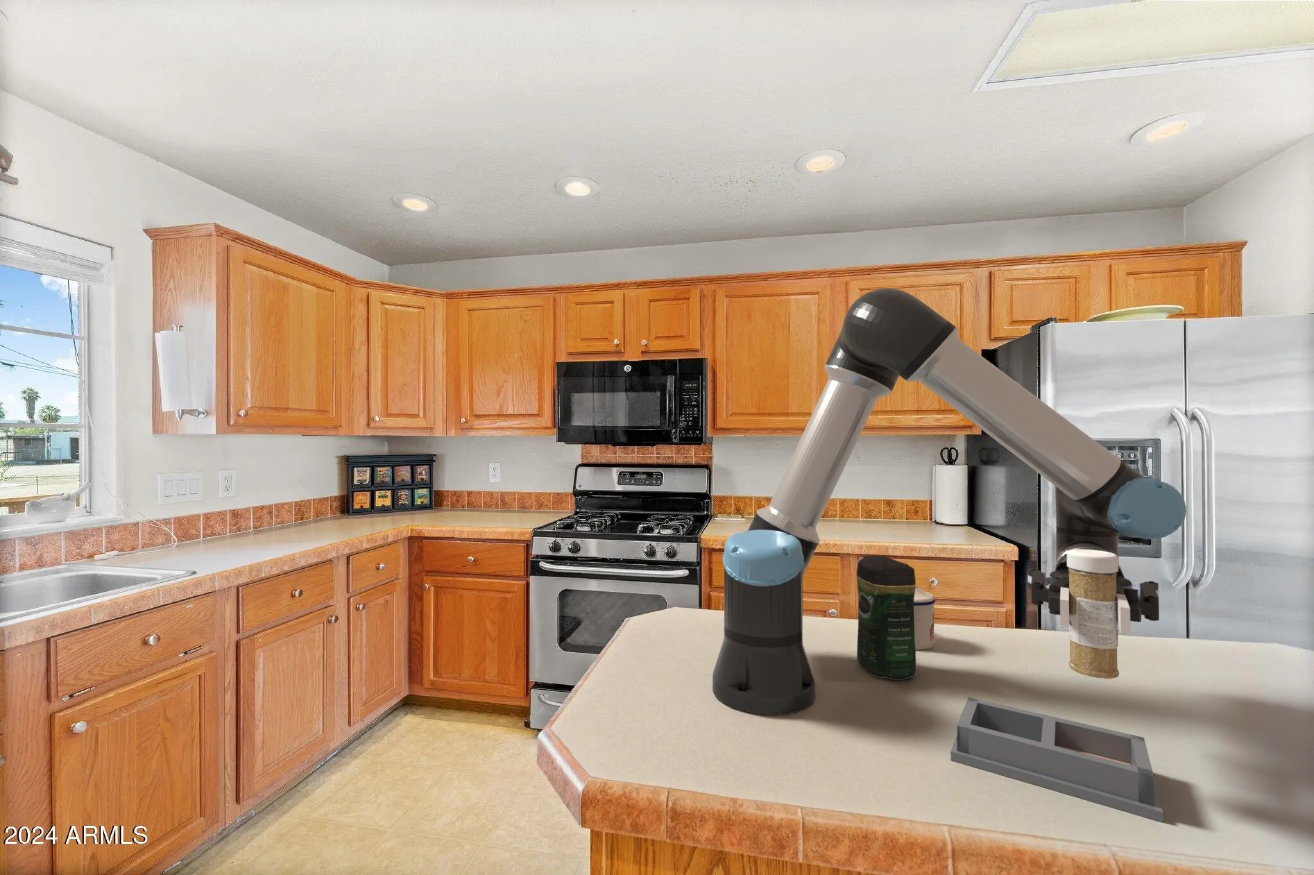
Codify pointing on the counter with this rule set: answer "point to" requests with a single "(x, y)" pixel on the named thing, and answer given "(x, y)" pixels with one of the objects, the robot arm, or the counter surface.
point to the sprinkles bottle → (1093, 613)
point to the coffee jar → (886, 617)
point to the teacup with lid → (923, 619)
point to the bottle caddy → (1059, 756)
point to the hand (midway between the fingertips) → (1094, 616)
